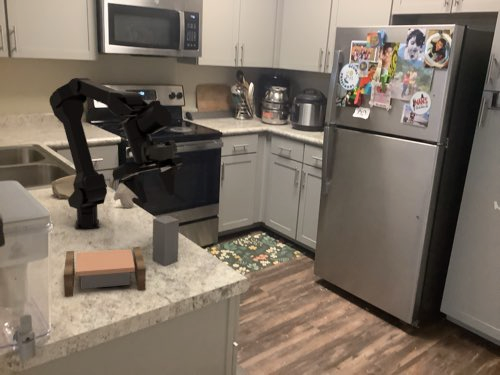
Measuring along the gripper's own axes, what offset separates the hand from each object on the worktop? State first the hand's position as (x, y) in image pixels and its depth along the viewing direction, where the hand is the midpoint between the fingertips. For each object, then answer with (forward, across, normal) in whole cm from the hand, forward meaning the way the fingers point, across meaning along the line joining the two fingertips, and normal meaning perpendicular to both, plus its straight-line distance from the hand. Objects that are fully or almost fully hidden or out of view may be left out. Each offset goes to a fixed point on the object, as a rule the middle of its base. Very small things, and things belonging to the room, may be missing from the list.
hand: (159, 199), depth 116 cm
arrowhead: (-3, +18, +37) cm, 41 cm away
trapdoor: (+13, -18, +4) cm, 23 cm away
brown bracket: (+14, -19, +4) cm, 24 cm away
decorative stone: (-13, +14, +57) cm, 60 cm away
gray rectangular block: (+15, -2, +3) cm, 15 cm away
